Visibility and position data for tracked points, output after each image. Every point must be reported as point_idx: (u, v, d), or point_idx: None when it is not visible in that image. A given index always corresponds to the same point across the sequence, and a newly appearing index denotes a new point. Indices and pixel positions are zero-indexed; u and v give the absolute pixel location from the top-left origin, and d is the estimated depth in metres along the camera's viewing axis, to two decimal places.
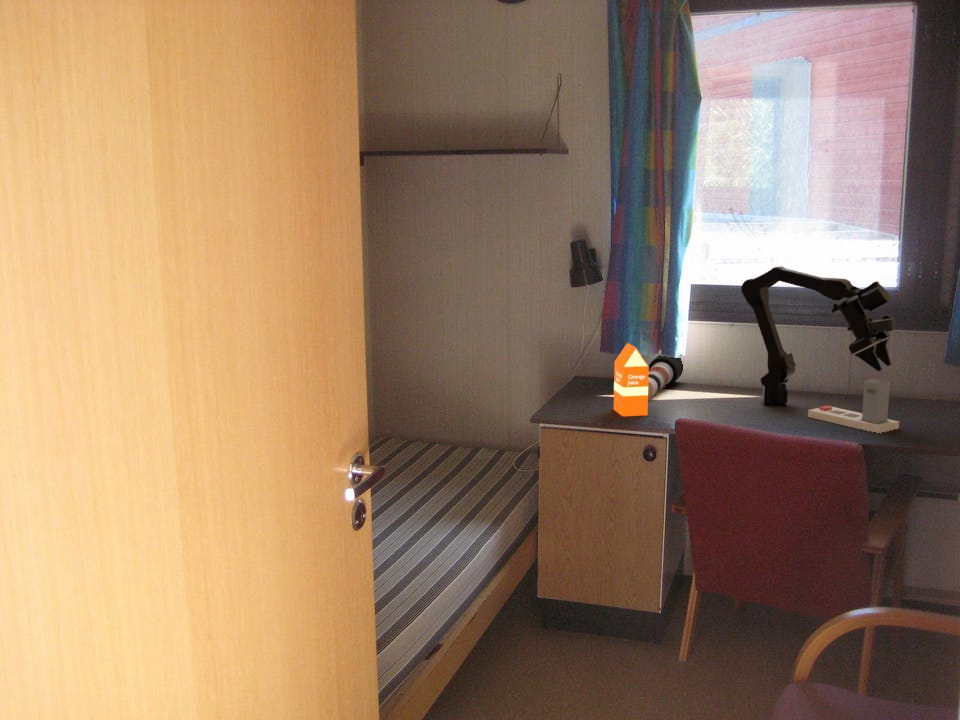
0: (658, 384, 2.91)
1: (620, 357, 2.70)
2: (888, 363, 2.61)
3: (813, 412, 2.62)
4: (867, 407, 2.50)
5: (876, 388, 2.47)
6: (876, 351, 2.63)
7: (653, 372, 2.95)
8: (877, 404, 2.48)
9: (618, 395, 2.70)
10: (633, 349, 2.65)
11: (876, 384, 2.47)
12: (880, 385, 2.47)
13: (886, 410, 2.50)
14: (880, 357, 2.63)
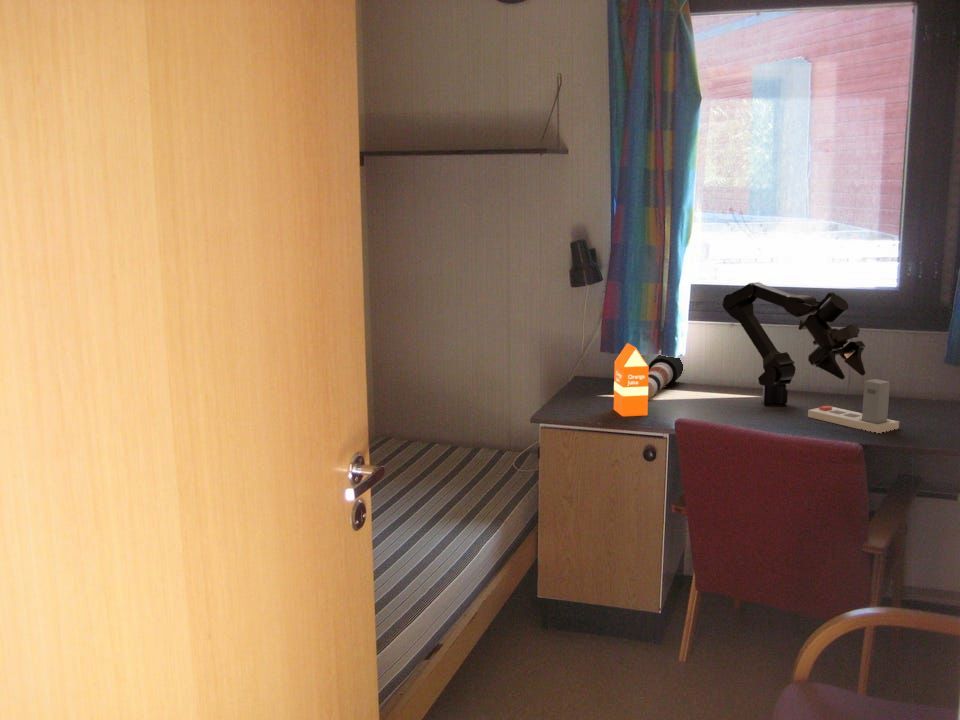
0: (658, 384, 2.91)
1: (620, 357, 2.70)
2: (862, 372, 2.58)
3: (813, 412, 2.62)
4: (867, 407, 2.50)
5: (876, 388, 2.47)
6: (851, 362, 2.61)
7: (653, 372, 2.95)
8: (877, 404, 2.48)
9: (618, 395, 2.70)
10: (633, 349, 2.65)
11: (876, 384, 2.47)
12: (880, 385, 2.47)
13: (886, 410, 2.50)
14: (855, 368, 2.60)
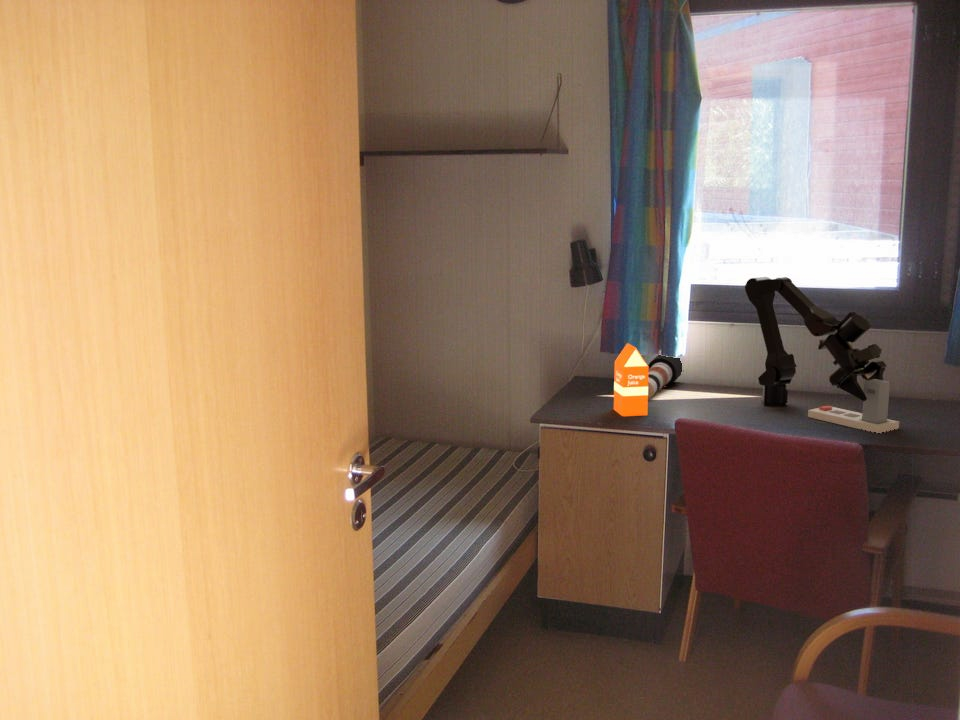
0: (657, 384, 2.91)
1: (620, 357, 2.70)
2: None
3: (813, 412, 2.62)
4: (867, 407, 2.50)
5: (876, 388, 2.47)
6: None
7: (652, 372, 2.95)
8: (877, 404, 2.48)
9: (618, 395, 2.70)
10: (633, 349, 2.65)
11: (876, 384, 2.47)
12: (880, 385, 2.47)
13: (886, 410, 2.50)
14: None
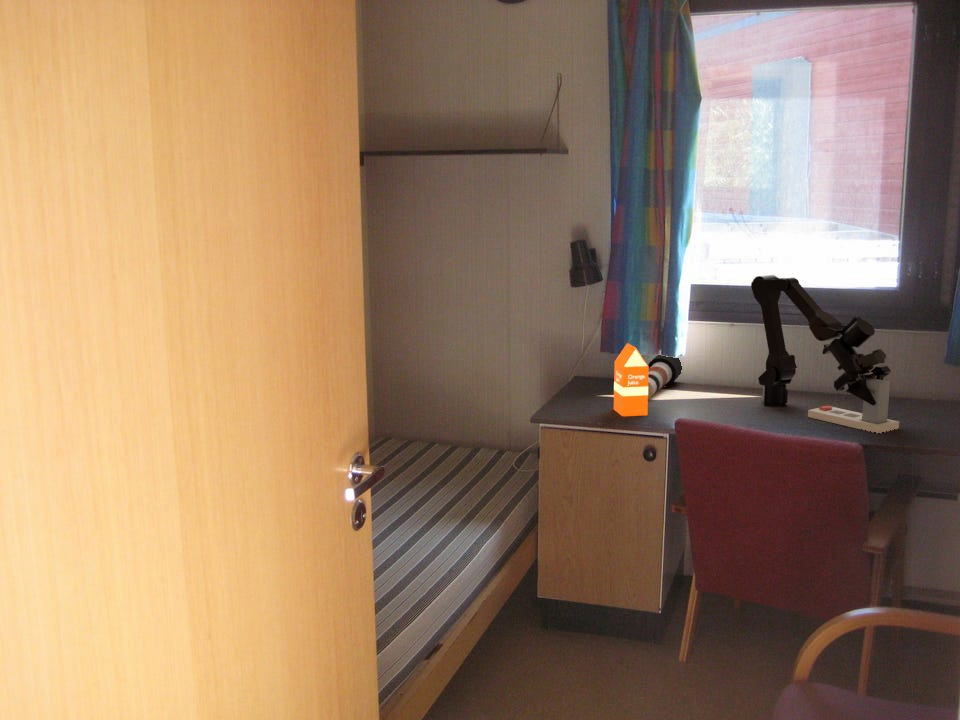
0: (657, 384, 2.91)
1: (620, 357, 2.70)
2: None
3: (813, 412, 2.62)
4: (867, 407, 2.50)
5: (876, 388, 2.47)
6: None
7: (652, 372, 2.95)
8: (877, 404, 2.48)
9: (618, 395, 2.70)
10: (633, 349, 2.65)
11: (876, 384, 2.47)
12: (880, 385, 2.47)
13: (886, 410, 2.50)
14: None
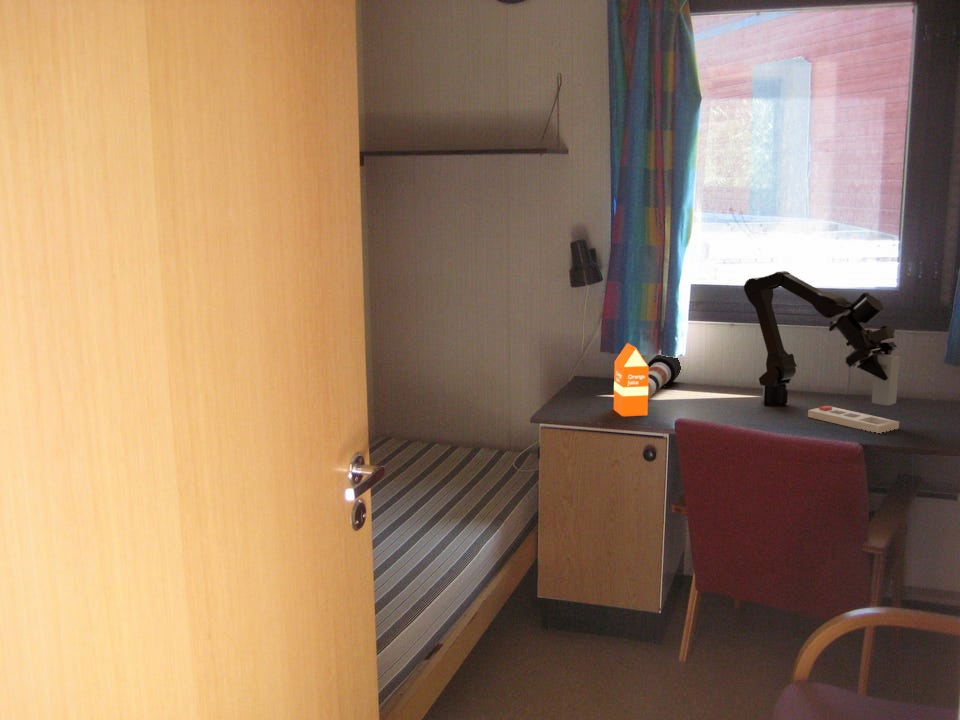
0: (656, 384, 2.91)
1: (620, 357, 2.70)
2: None
3: (813, 412, 2.62)
4: (878, 383, 2.51)
5: (888, 363, 2.48)
6: None
7: (651, 372, 2.95)
8: (889, 379, 2.49)
9: (618, 395, 2.70)
10: (633, 349, 2.65)
11: (888, 359, 2.48)
12: (892, 360, 2.48)
13: (896, 385, 2.51)
14: None
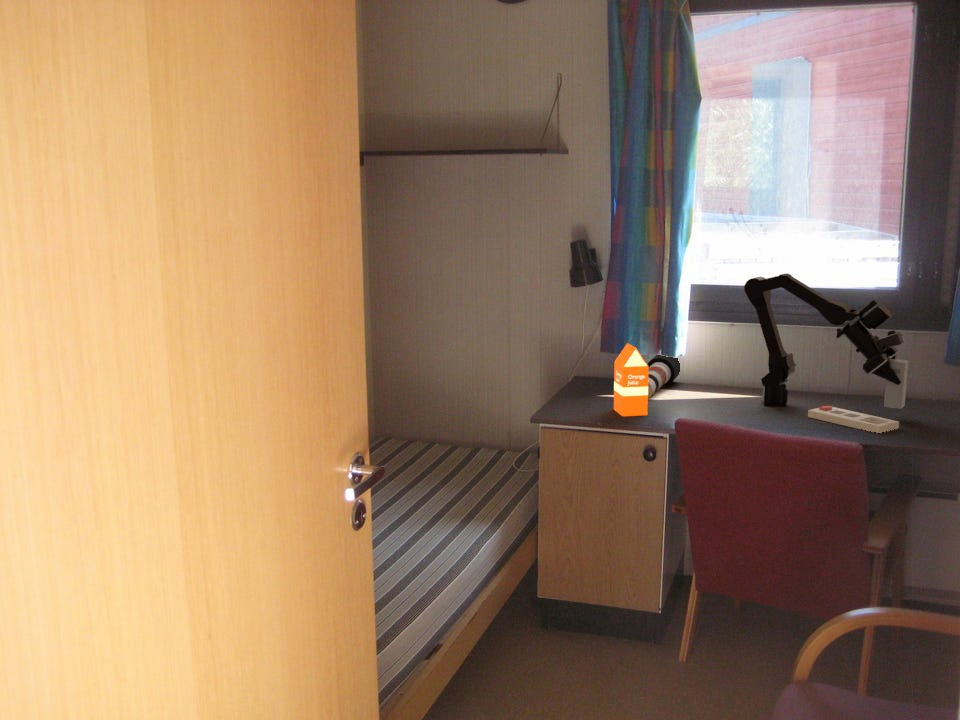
0: (656, 384, 2.91)
1: (620, 357, 2.70)
2: None
3: (813, 412, 2.62)
4: (890, 387, 2.58)
5: (901, 368, 2.55)
6: None
7: (651, 372, 2.95)
8: (902, 383, 2.56)
9: (618, 395, 2.70)
10: (633, 349, 2.65)
11: (901, 364, 2.55)
12: (905, 364, 2.55)
13: (905, 388, 2.59)
14: None
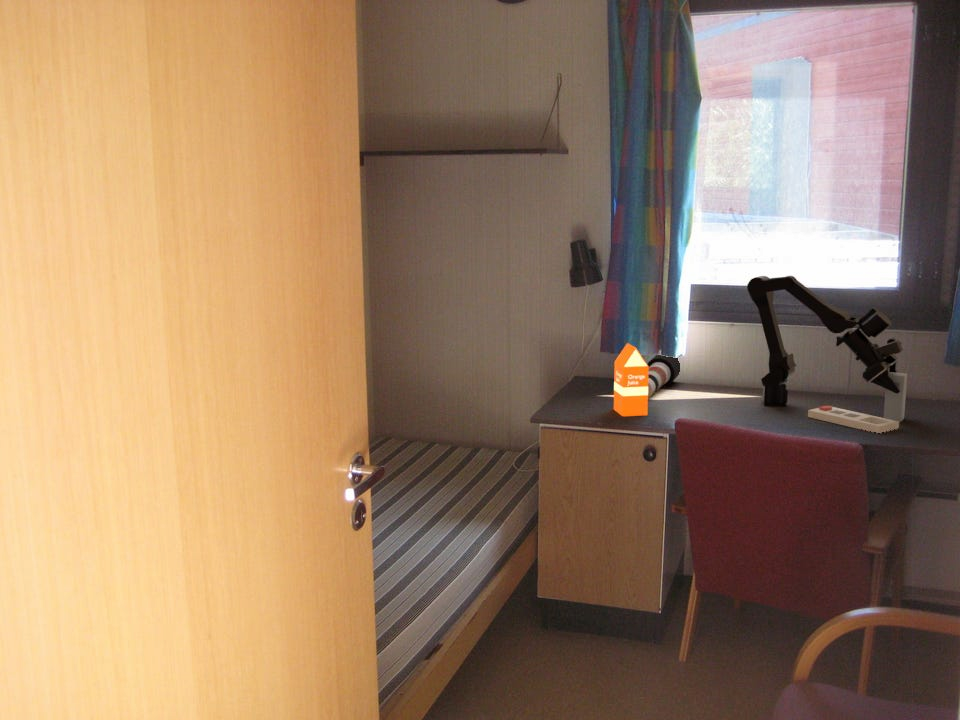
0: (656, 384, 2.91)
1: (620, 357, 2.70)
2: None
3: (813, 412, 2.62)
4: (890, 400, 2.58)
5: (900, 381, 2.56)
6: None
7: (651, 372, 2.95)
8: (901, 396, 2.57)
9: (618, 395, 2.70)
10: (633, 349, 2.65)
11: (900, 377, 2.56)
12: (904, 378, 2.56)
13: (904, 401, 2.60)
14: None
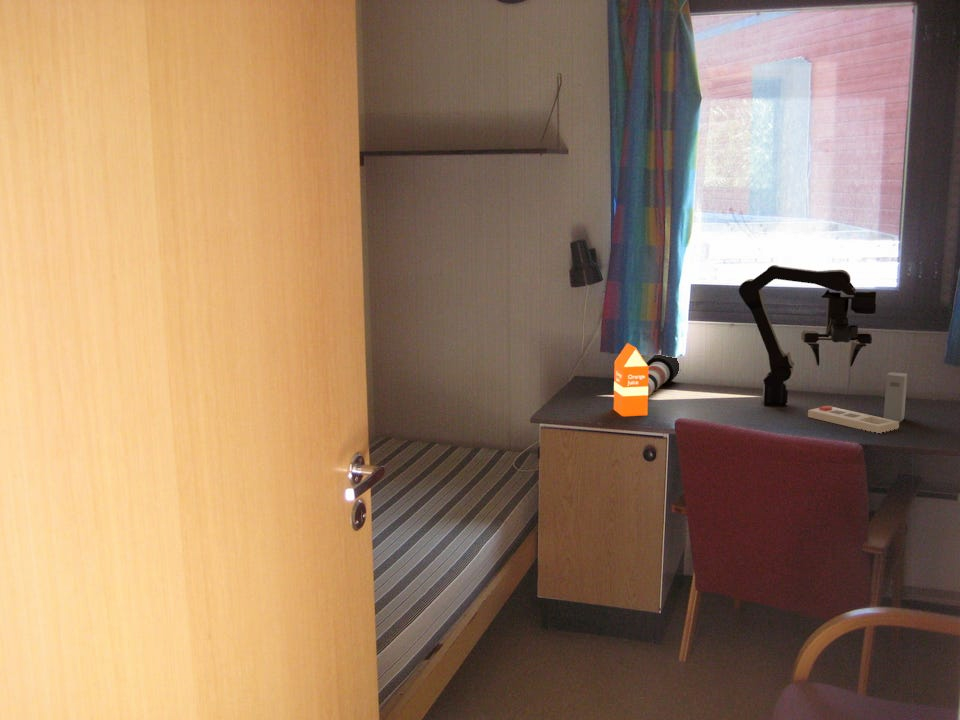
0: (655, 383, 2.91)
1: (620, 357, 2.70)
2: (850, 364, 2.70)
3: (813, 412, 2.62)
4: (890, 400, 2.58)
5: (900, 381, 2.56)
6: (851, 348, 2.70)
7: (650, 371, 2.95)
8: (901, 396, 2.57)
9: (618, 395, 2.70)
10: (633, 349, 2.65)
11: (900, 377, 2.56)
12: (904, 378, 2.56)
13: (904, 401, 2.60)
14: (850, 355, 2.71)
